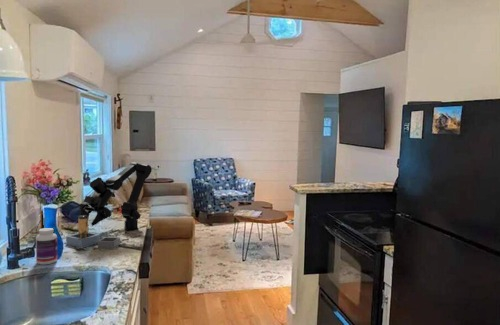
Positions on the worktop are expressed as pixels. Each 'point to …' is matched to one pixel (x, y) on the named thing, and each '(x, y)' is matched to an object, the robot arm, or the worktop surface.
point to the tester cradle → (108, 242)
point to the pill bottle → (46, 246)
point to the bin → (82, 240)
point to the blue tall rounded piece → (42, 217)
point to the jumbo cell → (83, 226)
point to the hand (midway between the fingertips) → (85, 224)
